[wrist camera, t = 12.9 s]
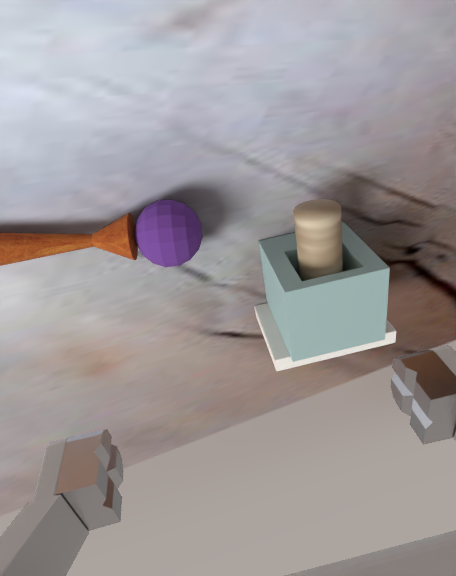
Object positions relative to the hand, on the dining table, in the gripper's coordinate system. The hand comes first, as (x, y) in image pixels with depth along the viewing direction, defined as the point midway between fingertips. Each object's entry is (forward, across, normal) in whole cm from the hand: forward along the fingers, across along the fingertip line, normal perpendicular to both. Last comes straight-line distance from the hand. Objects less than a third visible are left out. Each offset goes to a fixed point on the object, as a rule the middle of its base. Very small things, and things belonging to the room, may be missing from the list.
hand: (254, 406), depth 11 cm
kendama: (+29, +10, +6) cm, 32 cm away
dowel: (+26, -10, +11) cm, 30 cm away
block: (+29, -10, +15) cm, 34 cm away
